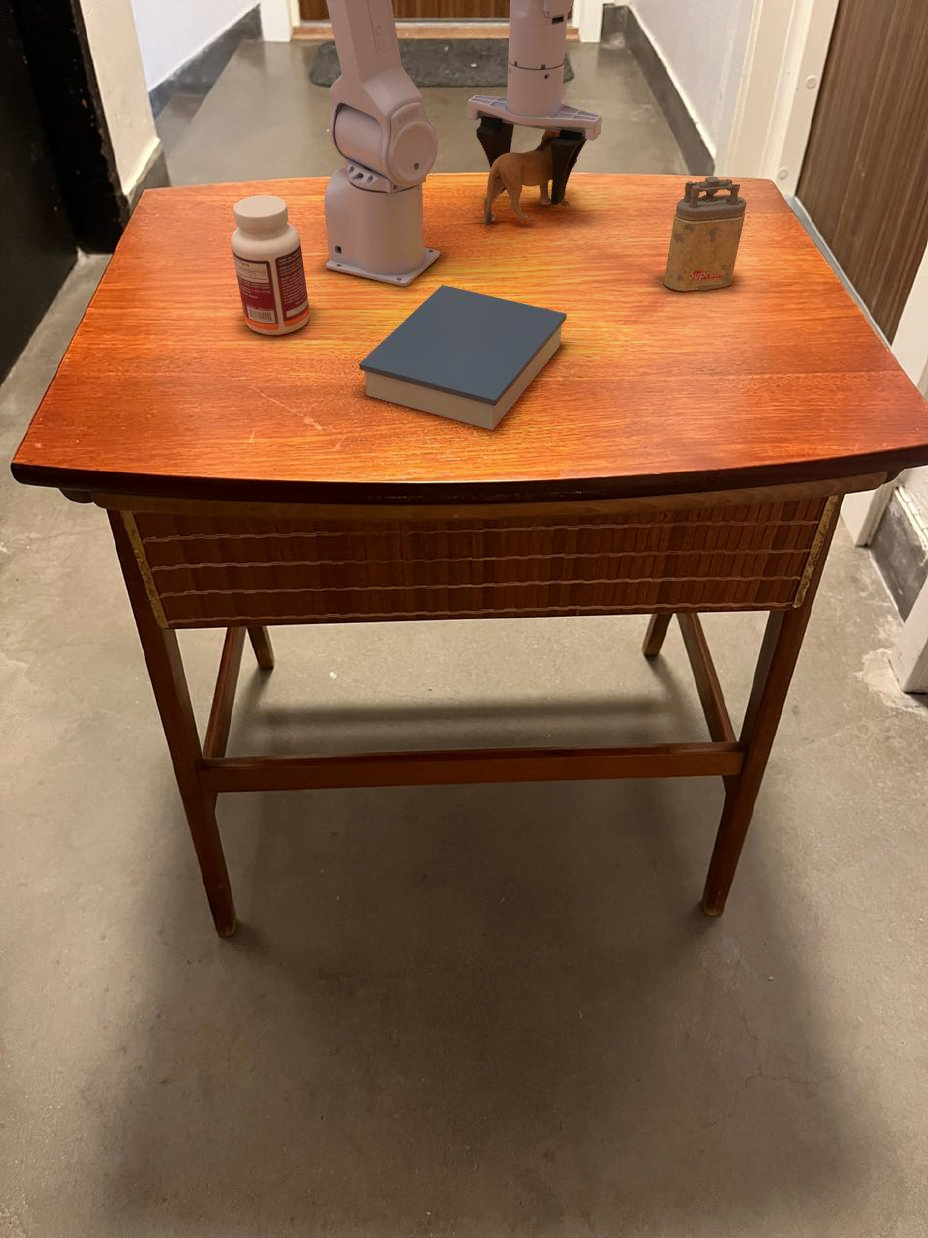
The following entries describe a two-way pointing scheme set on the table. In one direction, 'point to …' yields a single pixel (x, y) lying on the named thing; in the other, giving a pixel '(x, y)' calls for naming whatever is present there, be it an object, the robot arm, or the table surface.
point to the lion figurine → (522, 177)
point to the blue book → (463, 356)
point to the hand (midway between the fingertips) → (529, 195)
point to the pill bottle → (269, 266)
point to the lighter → (705, 236)
